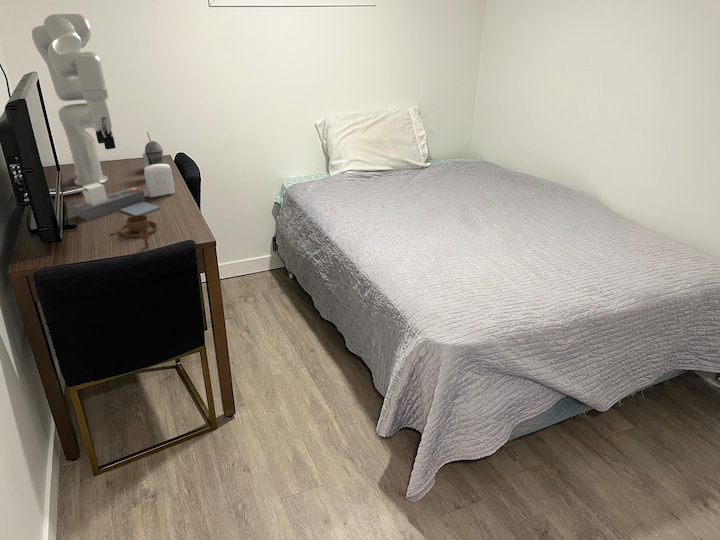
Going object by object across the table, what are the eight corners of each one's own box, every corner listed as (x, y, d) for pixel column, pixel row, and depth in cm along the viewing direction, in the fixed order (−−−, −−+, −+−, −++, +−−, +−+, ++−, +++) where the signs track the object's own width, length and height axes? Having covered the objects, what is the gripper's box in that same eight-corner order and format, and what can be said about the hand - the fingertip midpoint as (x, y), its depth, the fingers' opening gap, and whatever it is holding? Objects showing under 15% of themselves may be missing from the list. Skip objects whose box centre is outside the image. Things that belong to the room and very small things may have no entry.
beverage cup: (170, 177, 224) (162, 131, 215) (154, 181, 220) (146, 134, 210) (162, 173, 229) (154, 128, 219) (146, 177, 224) (137, 131, 214)
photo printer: (173, 190, 209) (168, 161, 204) (176, 193, 206) (171, 163, 200) (147, 195, 204) (141, 165, 198) (149, 198, 201) (143, 167, 195)
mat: (120, 211, 190) (119, 209, 189) (143, 203, 197) (143, 201, 197) (136, 217, 185) (136, 215, 185) (160, 208, 192) (160, 207, 192)
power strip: (75, 216, 185) (72, 204, 183) (134, 197, 203) (131, 186, 200) (86, 220, 182) (83, 208, 179) (145, 200, 199) (143, 189, 197)
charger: (86, 208, 186) (81, 187, 182) (101, 203, 191) (96, 182, 187) (93, 211, 184) (88, 189, 180) (108, 206, 188) (103, 185, 185)
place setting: (171, 225, 180) (168, 209, 177) (152, 250, 163) (148, 233, 160) (121, 225, 180) (117, 209, 177) (96, 250, 162) (91, 233, 160)
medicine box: (155, 172, 230) (152, 153, 226) (146, 172, 230) (142, 153, 226) (162, 167, 237) (158, 148, 233) (152, 166, 237) (149, 148, 233)
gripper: (77, 92, 176) (89, 142, 184) (89, 99, 163) (101, 152, 171) (100, 90, 180) (111, 139, 188) (114, 97, 167) (125, 149, 176)
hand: (106, 145), depth 180 cm, fingers open, 9 cm apart
